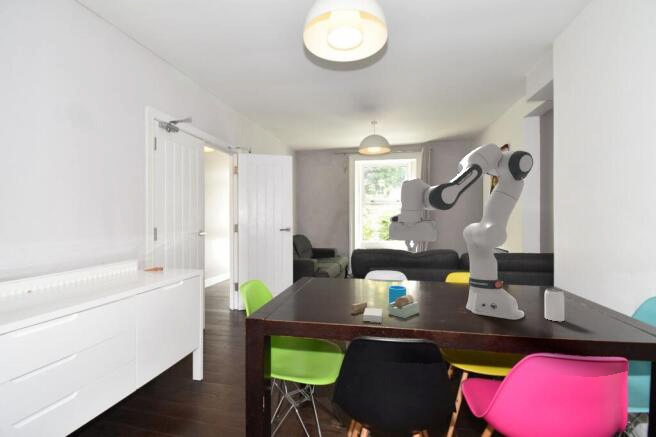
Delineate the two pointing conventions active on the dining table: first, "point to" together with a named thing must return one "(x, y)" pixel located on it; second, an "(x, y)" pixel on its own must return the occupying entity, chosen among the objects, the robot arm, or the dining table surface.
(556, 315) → the can
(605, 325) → the dining table surface
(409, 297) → the roller
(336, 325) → the dining table surface
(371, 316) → the slab
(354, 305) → the wooden brick
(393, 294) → the mug
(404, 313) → the cradle
